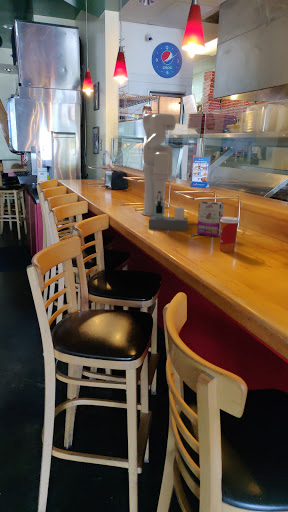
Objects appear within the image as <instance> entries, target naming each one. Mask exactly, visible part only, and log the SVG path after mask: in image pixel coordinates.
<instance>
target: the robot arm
mask: <svg viewBox="0 0 288 512" xmlns="http://www.w3.org/2000/svg"><path fill="white" fill-rule="evenodd" d="M176 123H177V122H176V118H175V116H174V114H173V113H157V112H156V113H155V112H154V113H153V112H151V113H146V114H144V116H143V117H142V125H143V130H144V133H145V136H146V140H145V143H144V145H143V148H142V159H143V164H144V166H143V175H144V176H143V177H144V203H143V205H144V206H143V208H144V209H143V211H141V215H142V216H148V217H151V216H156V215H154V211H155V202H157V206H156V213H159V214H162V207H163V206H162V202H164V199H165V197H166V186H167V185H166V183H167V181H169V180H170V179H171V178H172V177H173V176H172V175H173V148H172V145H171V146H170V145H168V144H163V143H164V142H166V139H167V134H166V131H174V130H175V128H176Z"/></svg>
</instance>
